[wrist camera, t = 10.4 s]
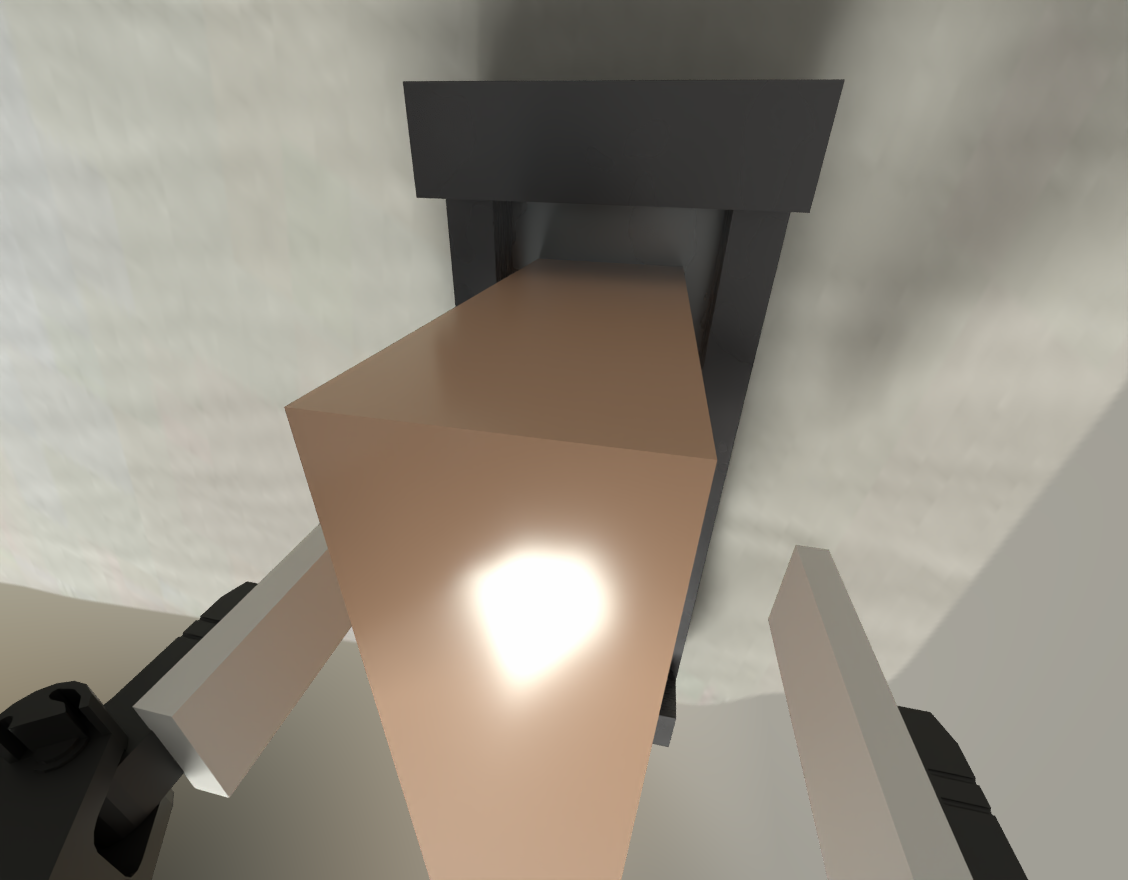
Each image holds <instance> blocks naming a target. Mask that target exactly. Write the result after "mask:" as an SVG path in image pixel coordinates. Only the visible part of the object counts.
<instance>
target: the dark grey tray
mask: <svg viewBox="0 0 1128 880" xmlns="http://www.w3.org/2000/svg"><path fill="white" fill-rule="evenodd" d="M843 84H844V80H624V81H403V86H404V95H405V103H406V112H407V120H408V129H409V137H410V145H411V154H412V162H413V171H414V179H415V188H416V196H417V198H441V199H446V206H447V217H448V228H449V239H450V250H451V261H452V272H453V283H454V294H455V305H456V306H458V305H460V304H462V303H463V302H465V301H467V300H468V299H470V298H472V297H474V296H475V295H477V294H479V293H480V292H482V291H484V290H486V289H487V288H489V287H491V286H492V285H494V284H496V283H498V282H499V281H501V280H503V279H504V278H506V277H508V276H510V275H511V274H513V273H515V272H516V271H518V270H520V269H522V268H523V267H525V266H527V265H528V264H530V263H532V262H534V261H535V260H537V259H539V258H540V259H557V260H574V261H591V262H608V263H625V264H642V265H659V266H676V267H683V269H684V275H685V281H686V286H687V292H688V298H689V303H690V309H691V315H692V320H693V326H694V332H695V337H696V343H697V349H698V354H699V360H700V366H701V371H702V377H703V382H704V388H705V394H706V399H707V405H708V411H709V416H710V422H711V428H712V433H713V439H714V445H715V450H716V456H717V463H716V468H715V472H714V476H713V481H712V485H711V489H710V494H709V498H708V503H707V507H706V511H705V516H704V520H703V524H702V529H701V533H700V537H699V542H698V546H697V551H696V555H695V559H694V564H693V568H692V572H691V577H690V581H689V586H688V590H687V594H686V599H685V603H684V607H683V612H682V616H681V620H680V625H679V629H678V634H677V638H676V642H675V647H674V651H673V655H672V660H671V664H670V669H669V673H668V677H667V682H666V686H665V690H664V695H663V699H662V704H661V708H660V712H659V717H658V721H657V725H656V730H655V734H654V738H653V743H652V744H657V745H661V746H666V747H669V743H670V740H671V736H672V732H673V728H674V725H675V720H676V677H677V673H678V669H679V665H680V661H681V657H682V653H683V649H684V645H685V641H686V636H687V632H688V628H689V624H690V620H691V616H692V612H693V608H694V604H695V600H696V596H697V592H698V587H699V583H700V579H701V575H702V571H703V567H704V563H705V559H706V555H707V551H708V547H709V543H710V538H711V534H712V530H713V526H714V522H715V518H716V514H717V510H718V506H719V502H720V498H721V494H722V489H723V485H724V481H725V477H726V473H727V469H728V465H729V461H730V457H731V453H732V449H733V445H734V440H735V436H736V432H737V428H738V424H739V420H740V416H741V412H742V408H743V404H744V400H745V396H746V391H747V387H748V383H749V379H750V375H751V371H752V367H753V363H754V359H755V355H756V351H757V347H758V343H759V338H760V334H761V330H762V326H763V322H764V318H765V314H766V310H767V306H768V302H769V298H770V294H771V289H772V285H773V281H774V277H775V273H776V269H777V265H778V261H779V257H780V253H781V249H782V245H783V240H784V236H785V232H786V228H787V224H788V220H789V216H790V212H803V213H810V209H811V205H812V201H813V198H814V194H815V190H816V186H817V183H818V179H819V175H820V171H821V167H822V164H823V160H824V156H825V152H826V148H827V145H828V141H829V137H830V133H831V129H832V126H833V122H834V118H835V114H836V111H837V107H838V103H839V99H840V95H841V92H842V88H843Z"/></svg>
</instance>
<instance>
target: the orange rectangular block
mask: <svg viewBox="0 0 1128 880" xmlns="http://www.w3.org/2000/svg"><path fill="white" fill-rule="evenodd" d="M284 408H285V411H286V414H287V418H288V421H289V424H290V427H291V431H292V434H293V437H294V440H295V444H296V447H297V450H298V453H299V456H300V460H301V463H302V466H303V469H304V473H305V476H306V479H307V482H308V486H309V489H310V492H311V495H312V499H313V502H314V505H315V508H316V512H317V515H318V518H319V521H320V524H321V528H322V531H323V534H324V537H325V541H326V544H327V547H328V550H329V554H330V557H331V560H332V563H333V567H334V570H335V573H336V576H337V580H338V583H339V586H340V589H341V593H342V596H343V599H344V602H345V605H346V609H347V612H348V615H349V618H350V622H351V625H352V628H353V631H354V635H355V638H356V641H357V644H358V648H359V651H360V654H361V657H362V661H363V664H364V667H365V670H366V674H367V677H368V680H369V683H370V686H371V690H372V693H373V696H374V699H375V702H376V706H377V709H378V712H379V716H380V719H381V722H382V725H383V728H384V732H385V735H386V738H387V742H388V745H389V748H390V751H391V755H392V758H393V761H394V764H395V767H396V771H397V774H398V777H399V780H400V784H401V787H402V790H403V793H404V797H405V800H406V803H407V806H408V810H409V813H410V816H411V819H412V822H413V826H414V829H415V832H416V835H417V838H418V842H419V845H420V848H421V852H422V855H423V858H424V861H425V864H426V868H427V871H428V874H429V878H430V880H621V878H622V874H623V869H624V865H625V860H626V856H627V852H628V847H629V843H630V839H631V834H632V830H633V826H634V821H635V817H636V813H637V808H638V804H639V799H640V795H641V791H642V786H643V782H644V778H645V773H646V769H647V765H648V760H649V756H650V752H651V747H652V743H653V738H654V734H655V730H656V725H657V721H658V717H659V712H660V708H661V704H662V699H663V695H664V690H665V686H666V682H667V677H668V673H669V669H670V664H671V660H672V655H673V651H674V647H675V642H676V638H677V634H678V629H679V625H680V620H681V616H682V612H683V607H684V603H685V599H686V594H687V590H688V586H689V581H690V577H691V572H692V568H693V564H694V559H695V555H696V551H697V546H698V542H699V537H700V533H701V529H702V524H703V520H704V516H705V511H706V507H707V503H708V498H709V494H710V489H711V485H712V481H713V476H714V472H715V468H716V463H717V456H716V450H715V445H714V439H713V433H712V428H711V422H710V416H709V411H708V405H707V399H706V394H705V388H704V382H703V377H702V371H701V366H700V360H699V354H698V349H697V343H696V337H695V332H694V326H693V320H692V315H691V309H690V303H689V298H688V292H687V286H686V281H685V275H684V269H683V267H676V266H659V265H642V264H625V263H608V262H591V261H574V260H557V259H540V258H539V259H537V260H535V261H534V262H532V263H530V264H528V265H527V266H525V267H523V268H522V269H520V270H518V271H516V272H515V273H513V274H511V275H510V276H508V277H506V278H504V279H503V280H501V281H499V282H498V283H496V284H494V285H492V286H491V287H489V288H487V289H486V290H484V291H482V292H480V293H479V294H477V295H475V296H474V297H472V298H470V299H468V300H467V301H465V302H463V303H462V304H460V305H458V306H456V307H455V308H453V309H451V310H450V311H448V312H446V313H444V314H443V315H441V316H439V317H438V318H436V319H434V320H432V321H431V322H429V323H427V324H426V325H424V326H422V327H420V328H419V329H417V330H415V331H414V332H412V333H410V334H408V335H407V336H405V337H403V338H402V339H400V340H398V341H397V342H395V343H393V344H391V345H390V346H388V347H386V348H385V349H383V350H381V351H379V352H378V353H376V354H374V355H373V356H371V357H369V358H367V359H366V360H364V361H362V362H361V363H359V364H357V365H355V366H354V367H352V368H350V369H349V370H347V371H345V372H343V373H342V374H340V375H338V376H337V377H335V378H333V379H331V380H330V381H328V382H326V383H325V384H323V385H321V386H319V387H318V388H316V389H314V390H313V391H311V392H309V393H307V394H306V395H304V396H302V397H301V398H299V399H297V400H295V401H294V402H292V403H290V404H289V405H287V406H285V407H284Z"/></svg>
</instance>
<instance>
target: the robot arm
mask: <svg viewBox="0 0 1128 880" xmlns="http://www.w3.org/2000/svg"><path fill="white" fill-rule="evenodd" d="M200 617H201V618H200V620H198V621H197V620H196V621H195V622H194V623H193V624H192V625H191V626H189V627H188V628H187V629H186V630H185V631H184V632H183V635H182V636H181V637H178V638H177V639H175V641H173V642H172V643H171V644H170V645H169V646H168V647H167V648H166V649H165V650H164V651H162V652H161V653H160V654H159V655H158V656H157V657H156V658H155V659H154V660H153V661H152V662H151V663H150V664H148V665H147V666H146V667H145V668H144V669H143V670H142V671H141V672H140V673H139V674H138V675H137V676H135V677H134V678H133V680H131V681H130V682H129V683H128V684H127V685H126V686H125V687H124V688H123V689H121V690H120V692H118V693H117V694H116V695H115V696H114V697H113V698H112V699H110V700H109V701H108V702H107V703H106V704H104V705H103V704H102V703H101V701H100V700H99V699H98V698H97V696H96V695H95V694H94V693H93V692H92V690H91V689H90V688H89V687H88V685H87V684H83V683H80V682H76V681H71V682H64V683H57V684H54V685H51V686H48V687H46V688H43V689H40V690H38V691H35V692H34V693H32V694H30V695H28V696H27V697H25V698H23V699H21V700H19V701H17V702H16V703H14V704H13V705H11V706H10V707H9V708H8V709H6V710H5V711H4V712H2V713H1V714H0V880H152V876H153V873H154V870H155V866H156V863H157V859H158V856H159V852H160V849H161V845H162V842H163V838H164V835H165V831H166V828H167V824H168V821H169V817H170V814H171V810H172V807H173V798H174V792H173V790H172V789H171V788H172V787H173V785H174V784H175V783H176V782H177V780H178V779H179V778H180V777H181V776H182V774H183V773H184V774H185V776H186V777H187V778H188V779H189V781H190V782H191V783H192V785H193V786H194V787H195V788H196V789H200V790H203V791H207V792H210V793H214V794H218V795H221V796H225V797H228V798H229V797H230V796H231V795H232V793H233V792H234V790H235V789H236V788H237V786H238V785H239V783H240V782H241V781H242V779H243V778H244V776H245V775H246V774H247V772H248V771H249V769H250V768H251V767H252V765H253V764H254V762H255V761H256V760H257V758H258V757H259V755H260V754H261V753H262V751H263V750H264V748H265V747H266V746H267V744H268V743H269V741H270V740H271V739H272V737H273V735H274V734H275V733H276V732H277V730H278V729H279V727H280V726H281V724H282V723H283V722H284V720H285V719H286V718H287V716H288V715H289V713H290V712H291V711H292V709H293V708H294V706H295V705H296V704H297V702H298V701H299V699H300V698H301V697H302V695H303V694H304V692H305V691H306V690H307V688H308V687H309V685H310V684H311V683H312V681H313V680H314V678H315V677H316V676H317V674H318V673H319V671H320V670H321V668H322V667H323V666H324V664H325V663H326V661H327V660H328V659H329V657H330V656H331V655H332V653H333V652H334V650H335V649H336V648H337V646H338V645H339V643H340V642H341V641H342V639H343V638H344V636H345V635H346V634H347V632H348V631H349V629H350V628H351V627H352V625H351V622H350V618H349V615H348V612H347V609H346V605H345V602H344V599H343V596H342V593H341V589H340V586H339V583H338V580H337V576H336V573H335V570H334V567H333V563H332V560H331V557H330V554H329V550H328V547H327V544H326V541H325V537H324V534H323V531H322V528H321V524H319V525H318V526H317V527H316V528H315V529H314V530H313V531H312V532H311V533H310V534H309V535H308V536H307V537H306V538H304V539H303V540H302V541H301V542H300V543H299V544H298V545H297V546H296V547H295V548H294V549H293V550H292V551H291V552H290V553H289V554H288V555H287V556H286V557H285V558H284V559H283V560H282V561H281V562H280V563H279V564H278V565H277V566H276V567H275V568H274V569H273V570H272V571H271V572H270V573H269V574H268V575H267V576H266V577H265V578H264V579H263V580H262V581H261V582H259V583H258V584H257V583H252V582H245V583H244V584H242V585H240V586H239V587H237V588H235V589H234V590H232V591H230V592H229V593H227V594H225V595H224V596H222V597H221V598H220V599H219V600H217V601H216V602H215V603H214V604H213V605H212V606H211V607H210V608H209V609H208V610H207V611H206V612H205V613H203V614H202V615H201V616H200ZM768 621H769V625H770V630H771V634H772V638H773V643H774V647H775V651H776V656H777V660H778V664H779V669H780V673H781V678H782V682H783V686H784V691H785V695H786V699H787V703H788V708H789V712H790V717H791V721H792V726H793V729H794V734H795V739H796V743H797V747H798V752H799V756H800V760H801V765H802V769H803V774H804V778H805V782H806V787H807V791H808V795H809V800H810V804H811V809H812V813H813V817H814V822H815V826H816V830H817V835H818V839H819V843H820V848H821V852H822V857H823V861H824V865H825V869H826V874H827V878H828V880H1028V879H1027V877H1026V875H1025V873H1024V871H1023V869H1022V867H1021V865H1020V863H1019V861H1018V859H1017V857H1016V856H1015V854H1014V852H1013V850H1012V848H1011V846H1010V844H1009V842H1008V840H1007V838H1006V836H1005V834H1004V832H1003V830H1002V828H1001V827H1000V824H999V823H998V821H997V819H996V817H995V816H993V815H992V814H991V807H990V805H989V803H988V801H987V799H986V797H985V795H984V793H983V792H982V790H981V788H980V786H979V785H977V784H976V782H975V776H974V774H973V772H972V770H971V768H970V766H969V765H968V762H967V761H966V759H965V757H964V755H963V753H962V751H961V749H960V747H959V745H958V743H957V742H956V741H955V740H954V739H953V738H952V737H951V735H950V734H949V733H948V732H947V731H946V730H945V728H944V727H943V726H942V725H941V724H940V723H939V721H938V720H937V719H936V718H935V717H934V716H933V715H932V713H930V712H927V711H921V710H916V709H911V708H906V707H901V706H897V705H896V702H895V700H894V698H893V695H892V693H891V691H890V689H889V686H888V684H887V682H886V679H885V677H884V675H883V672H882V670H881V668H880V666H879V663H878V661H877V659H876V656H875V654H874V652H873V650H872V647H871V645H870V643H869V640H868V638H867V636H866V634H865V631H864V629H863V627H862V624H861V622H860V620H859V618H858V615H857V613H856V611H855V608H854V606H853V604H852V602H851V599H850V597H849V595H848V592H847V590H846V588H845V586H844V583H843V581H842V579H841V577H840V574H839V572H838V570H837V567H836V565H835V563H834V561H833V558H832V556H831V554H830V551H829V550H827V549H820V548H813V547H806V546H800V545H796V546H795V548H794V551H793V554H792V557H791V559H790V562H789V565H788V567H787V570H786V573H785V575H784V578H783V581H782V583H781V586H780V589H779V592H778V594H777V597H776V600H775V602H774V605H773V608H772V610H771V613H770V616H769V619H768Z"/></svg>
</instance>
